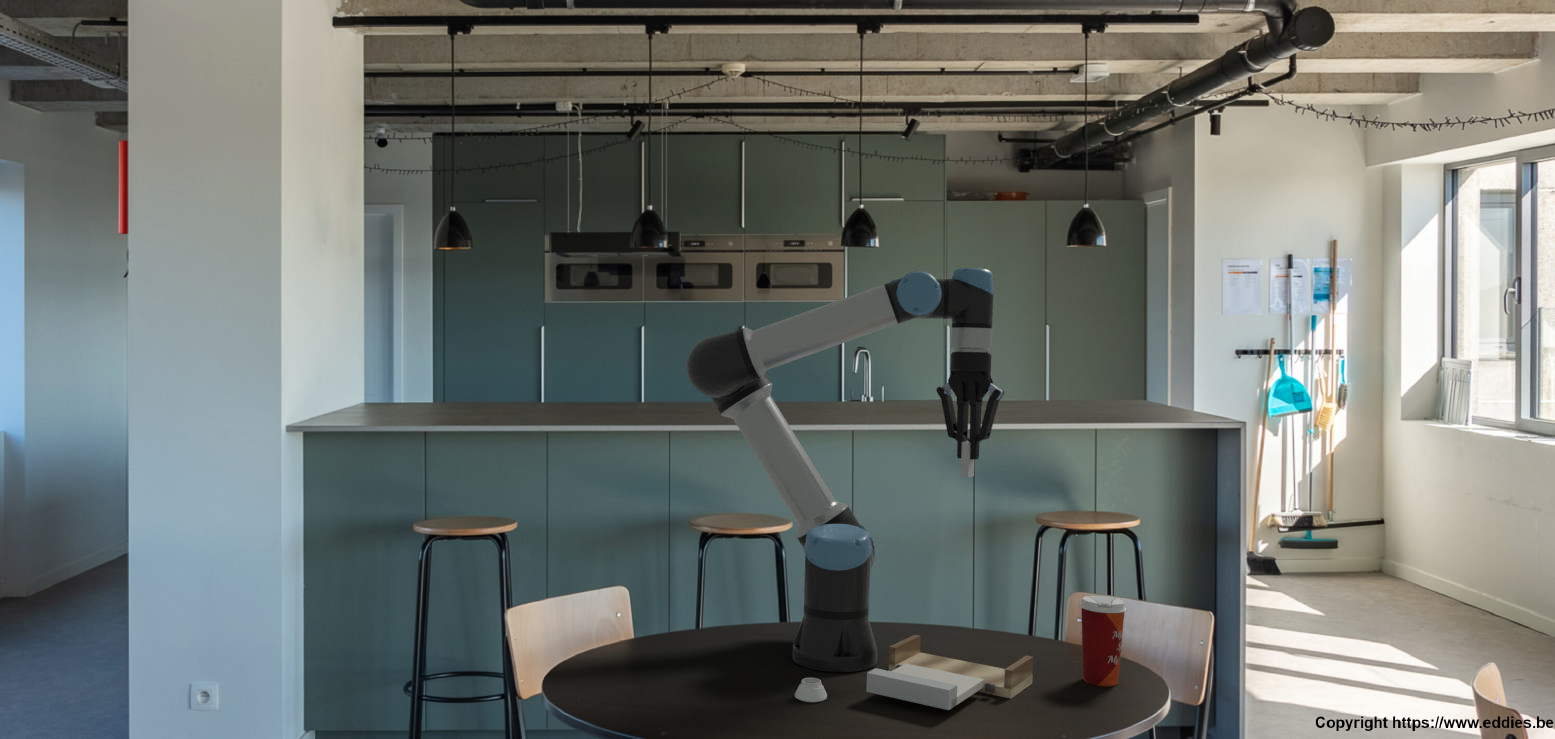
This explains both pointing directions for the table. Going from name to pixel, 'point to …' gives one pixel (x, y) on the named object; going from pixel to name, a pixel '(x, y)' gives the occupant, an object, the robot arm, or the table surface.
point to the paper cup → (1102, 639)
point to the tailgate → (923, 685)
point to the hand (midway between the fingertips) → (967, 476)
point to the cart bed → (966, 668)
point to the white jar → (811, 690)
